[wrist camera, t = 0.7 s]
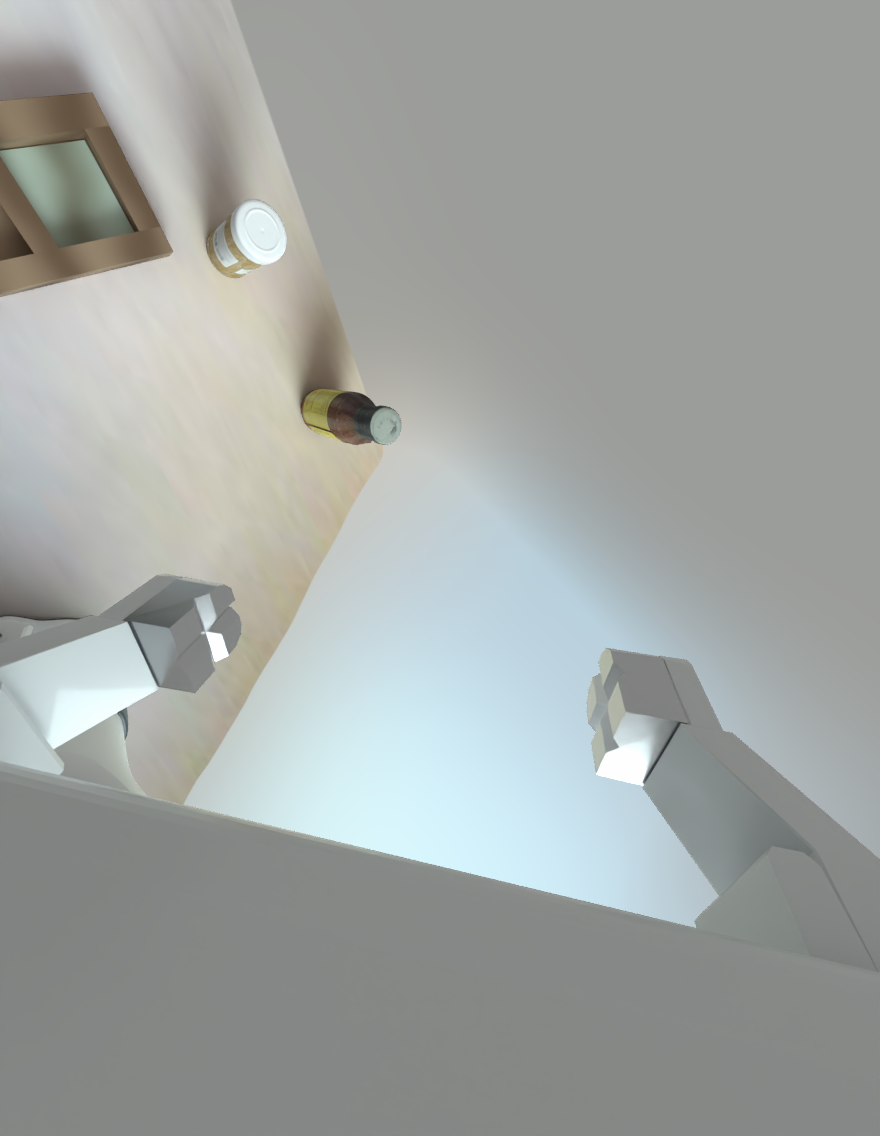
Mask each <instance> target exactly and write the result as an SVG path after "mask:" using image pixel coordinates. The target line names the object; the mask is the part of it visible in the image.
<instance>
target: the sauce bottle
mask: <svg viewBox="0 0 880 1136" xmlns="http://www.w3.org/2000/svg"><path fill="white" fill-rule="evenodd" d="M301 413H302V417H303V419H304V422H305V424H306V425H307V426H308V427H309V428H310V429H311V430H313V431H314V432H316V433H318V434H320V435H323V436H326V437H330V438H333V439H336V440H339V441H342V442H345V443H350V444H353V445H359V444H365V443H371V441H372V440H373V441H374V442H376V443H378V444H383V445H386V444H387V445H388V444H391V443H393V442H394V441H395V440H396V439H397V438H398V437H399V435H400V431H401V420H400V417H399V415H398V413H397V412H396V411H395V410H394V409H392V408H390V407H386V406H377V407H376V406H375V405H374V403H373V402H372V401H371V400H370V399H369V398H368V397H367V396H365V395H363V394H361V393H357V392H349V391H340V390H332V389H317V390H314V391H311V392H310V393H309V394H308V395H307V396H306V397H305V399H304V400H303V403H302V405H301Z"/></svg>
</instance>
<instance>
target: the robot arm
mask: <svg viewBox="0 0 880 1136" xmlns="http://www.w3.org/2000/svg"><path fill="white" fill-rule="evenodd" d="M234 601H235V599H234V596H233V593H232V589H231V588H230V587H228V586H226V585H224V584H219V583H213V582H208V581H203V580H198V579H192V578H187V577H180V576H175V575H169V574H162V575H157V576H155V577H154V578H152V579H151V580H149V581H148V582H147V583H145V584H144V585H142V586H141V587H139V588H138V589H136V590H135V591H134V592H132V593H131V594H129V595H128V596H126V597H125V598H124V599H122V600H121V601H119V602H118V603H116V604H115V605H114V606H112V607H111V608H109V609H108V610H106V611H105V612H103V613H102V614H101V615H99V616H93V615H90V616H87V617H84V618H81V619H78V620H71V619H65V620H49V621H36V620H32V619H27V618H21V617H14V616H5V617H0V633H1V634H2V635H1V636H0V1136H880V859H879V858H878V857H877V856H875V855H874V854H873V853H872V852H871V851H870V850H868V849H867V848H866V847H865V846H864V845H863V844H861V843H860V842H859V841H858V840H857V839H856V838H854V837H853V836H852V835H851V834H850V833H848V832H847V831H846V830H845V829H844V828H843V827H842V826H840V825H839V824H838V823H837V822H836V821H834V820H833V819H832V818H831V817H830V816H829V815H828V814H826V813H825V812H824V811H823V810H822V809H821V808H819V807H818V806H817V805H816V804H815V803H814V802H812V801H811V800H810V799H809V798H808V797H806V796H805V795H804V794H803V793H802V792H801V791H800V790H798V789H797V788H796V787H795V786H794V785H793V784H791V783H790V782H789V781H788V780H787V779H786V778H784V777H783V776H782V775H781V774H780V773H779V772H777V771H776V770H775V769H774V768H773V767H772V766H770V765H769V764H768V763H767V762H766V761H765V760H763V759H762V758H761V757H760V756H759V755H758V754H756V753H755V752H754V751H753V750H752V749H751V748H749V747H748V746H747V745H746V744H744V743H743V742H742V741H741V740H740V739H739V738H738V737H737V736H735V735H734V734H733V733H730V732H725V731H723V730H722V727H721V725H720V723H719V721H718V719H717V717H716V715H715V713H714V710H713V708H712V706H711V704H710V702H709V700H708V698H707V696H706V694H705V692H704V689H703V687H702V685H701V683H700V681H699V679H698V677H697V675H696V673H695V671H694V668H693V666H692V664H690V662H688V661H687V660H684V659H677V658H670V657H663V656H653V655H647V654H640V653H634V652H628V651H622V650H616V649H609V648H606V649H605V650H604V651H603V652H602V654H601V657H600V659H599V667H600V674H598V675H596V676H594V677H593V678H592V681H591V684H590V687H589V691H588V698H587V716H588V723H589V725H590V726H591V727H592V728H593V729H594V730H595V732H596V733H595V735H594V738H593V740H592V751H593V757H594V763H595V770H596V775H600V776H604V777H609V778H614V779H618V780H622V781H626V782H630V783H635V784H639V785H644V786H643V789H644V790H645V792H646V793H647V795H648V796H649V797H650V799H651V800H652V802H653V803H654V805H655V806H656V807H657V809H658V810H659V812H660V813H661V814H662V816H663V817H664V819H665V820H666V822H667V823H668V824H669V826H670V827H671V828H672V830H673V831H674V833H675V834H676V836H677V837H678V838H679V840H680V841H681V843H682V844H683V845H684V847H685V848H686V850H687V851H688V853H689V854H690V855H691V857H692V858H693V859H694V861H695V863H696V864H697V865H698V867H699V868H700V870H701V871H702V872H703V874H704V875H705V877H706V878H707V879H708V881H709V882H710V884H711V885H712V887H713V888H714V889H715V891H716V892H717V894H718V895H719V897H718V898H717V899H716V900H715V901H714V902H713V903H712V904H711V905H710V906H708V907H707V909H705V910H704V911H703V912H702V913H701V914H700V915H699V916H698V918H697V919H696V920H695V924H696V928H694V927H689V926H685V925H681V924H677V923H673V922H669V921H664V920H660V919H656V918H652V917H648V916H644V915H640V914H635V913H631V912H627V911H623V910H619V909H615V908H611V907H606V906H602V905H598V904H594V903H590V902H586V901H581V900H577V899H573V898H569V897H565V896H560V895H557V894H552V893H548V892H544V891H540V890H536V889H532V888H528V887H523V886H519V885H515V884H511V883H506V882H502V881H498V880H494V879H490V878H486V877H482V876H478V875H473V874H469V873H465V872H461V871H457V870H453V869H449V868H444V867H440V866H436V865H432V864H427V863H423V862H419V861H415V860H411V859H407V858H403V857H399V856H394V855H390V854H386V853H382V852H378V851H374V850H370V849H365V848H361V847H357V846H353V845H348V844H345V843H340V842H336V841H332V840H328V839H324V838H320V837H316V836H311V835H307V834H303V833H299V832H295V831H291V830H286V829H282V828H278V827H274V826H270V825H265V824H262V823H257V822H253V821H249V820H244V819H240V818H236V817H232V816H228V815H224V814H220V813H215V812H211V811H207V810H203V809H199V808H194V807H190V806H186V805H182V804H178V803H174V802H170V801H166V800H161V799H157V798H153V797H149V796H147V795H146V794H145V793H144V792H143V791H142V789H141V788H140V787H139V785H138V784H137V783H136V781H135V779H134V778H133V776H132V773H131V771H130V767H129V763H128V758H127V753H126V746H125V739H126V736H127V732H128V714H127V707H128V706H129V705H131V704H133V703H135V702H136V701H138V700H140V699H142V698H143V697H145V696H147V695H149V694H150V693H152V692H154V691H156V690H157V689H158V687H162V688H168V689H174V690H180V691H186V692H191V693H196V691H197V690H198V689H199V688H200V687H201V686H202V685H203V684H204V682H205V681H206V680H207V679H208V678H209V677H210V676H211V674H212V673H213V672H214V671H215V662H216V661H218V660H220V659H222V658H224V657H226V656H228V655H229V654H230V653H231V651H232V650H233V649H234V648H235V647H236V645H237V642H238V640H239V637H240V635H241V621H240V617H239V615H238V614H237V613H236V612H235V611H234V610H233V609H232V607H231V606H232V604H233V603H234Z"/></svg>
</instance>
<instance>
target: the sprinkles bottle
mask: <svg viewBox="0 0 880 1136" xmlns="http://www.w3.org/2000/svg"><path fill="white" fill-rule="evenodd" d="M286 243H287V237H286V231H285V227H284V225H283V223H282V220H281V219H280V217H279V215H278V214H277V213H276V211H275V210H274V209H273V208H272V207H271V206H270V205H268V204H267V203H265V202H263V201H261V200H257V199H248V200H245V201H244V202H242V203H241V204H239V205H238V206H237V207H236V208H235V210H234V211H233V213H232V215H230V216H229V217H228V218H227V219H226V220H225V221H224V222H223V223H222V224H221V225H220V226H219V227H218V228H217V229H216V230H215V231H213V232H211V234H210V235H209V237H208V239H207V253H208V256H209V258H210V260H211V262H212V264H213V265H214V266H215V267H216V269H217V270H218V271H220V272H221V273H222V274H223V275H225V276H227V277H231V278H240V277H242V276H244V275H245V274H246V273H249V272H251V271H253V270H255V269H256V268H258V267H260V266H261V265H267V264H271V263H273V262H275V261H277V260H278V259H279V258H280V257H281V256H282V255H283V253H284V251H285V249H286Z"/></svg>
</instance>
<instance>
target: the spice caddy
mask: <svg viewBox="0 0 880 1136" xmlns="http://www.w3.org/2000/svg"><path fill="white" fill-rule="evenodd" d="M172 252H173V250H172V248H171V246H170V245H169V243H168V241H167V239H166V237H165V235H164V233H163V231H162V229H161V227H160V225H159V223H158V221H157V219H156V217H155V215H154V213H153V211H152V209H151V207H150V205H149V203H148V201H147V199H146V197H145V195H144V193H143V191H142V190H141V188H140V186H139V184H138V182H137V180H136V178H135V176H134V174H133V172H132V170H131V168H130V166H129V164H128V162H127V160H126V158H125V156H124V154H123V152H122V150H121V148H120V146H119V144H118V142H117V140H116V138H115V136H114V135H113V133H112V131H111V129H110V127H109V125H108V123H107V121H106V119H105V117H104V115H103V113H102V111H101V109H100V107H99V105H98V103H97V101H96V99H95V97H94V95H93V93H82V94H71V95H60V96H49V97H38V98H26V99H15V100H4V101H0V297H2V296H6V295H10V294H14V293H18V292H23V291H27V290H31V289H35V288H39V287H43V286H47V285H52V284H56V283H60V282H64V281H68V280H72V279H76V278H80V277H85V276H89V275H93V274H97V273H101V272H105V271H109V270H114V269H118V268H122V267H126V266H130V265H134V264H138V263H142V262H147V261H151V260H155V259H159V258H163V257H167V256H170V254H171V253H172Z"/></svg>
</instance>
